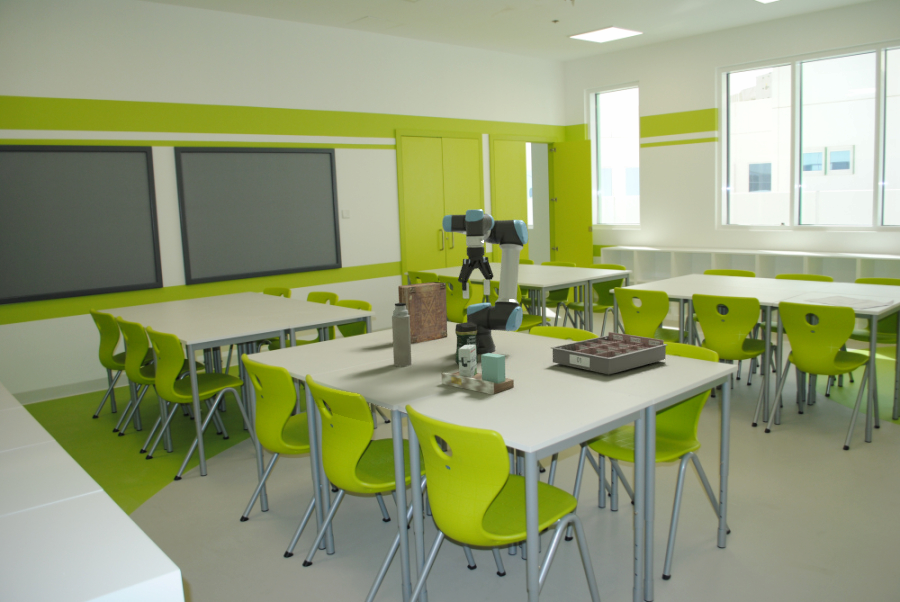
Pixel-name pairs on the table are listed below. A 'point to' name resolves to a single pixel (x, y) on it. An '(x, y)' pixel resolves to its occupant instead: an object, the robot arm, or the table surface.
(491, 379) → the teal block
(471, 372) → the ink box
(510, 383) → the brown flat block
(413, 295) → the book
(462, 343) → the coffee jar
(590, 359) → the organizer tray
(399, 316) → the thermos bottle
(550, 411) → the table surface
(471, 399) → the table surface
